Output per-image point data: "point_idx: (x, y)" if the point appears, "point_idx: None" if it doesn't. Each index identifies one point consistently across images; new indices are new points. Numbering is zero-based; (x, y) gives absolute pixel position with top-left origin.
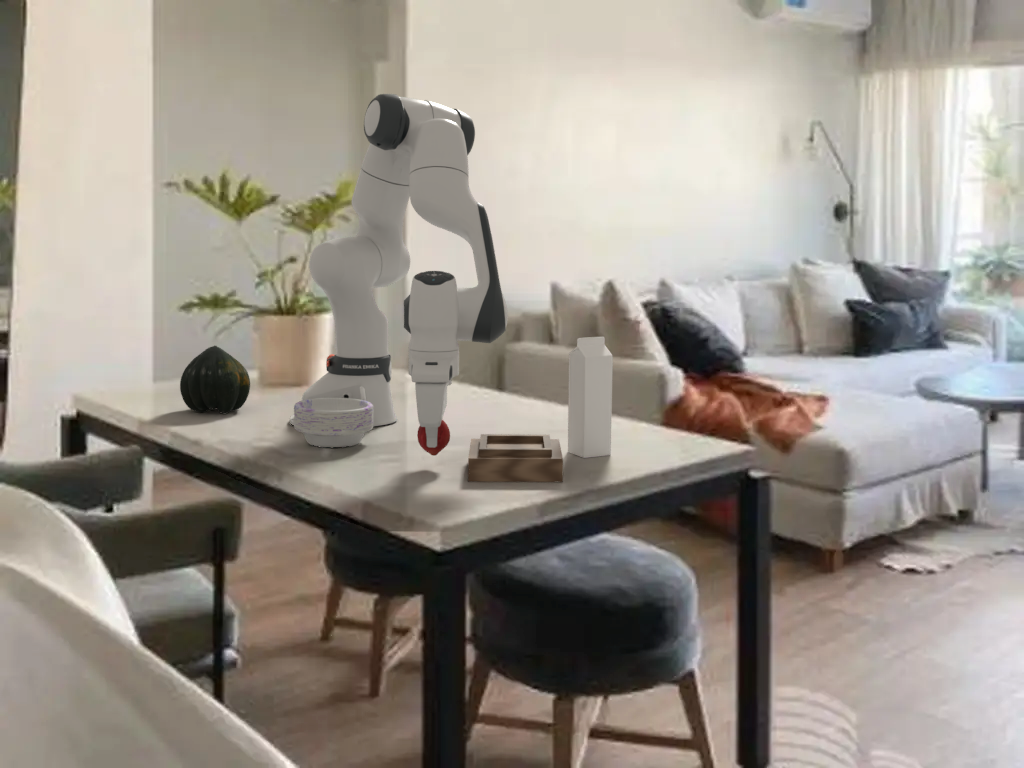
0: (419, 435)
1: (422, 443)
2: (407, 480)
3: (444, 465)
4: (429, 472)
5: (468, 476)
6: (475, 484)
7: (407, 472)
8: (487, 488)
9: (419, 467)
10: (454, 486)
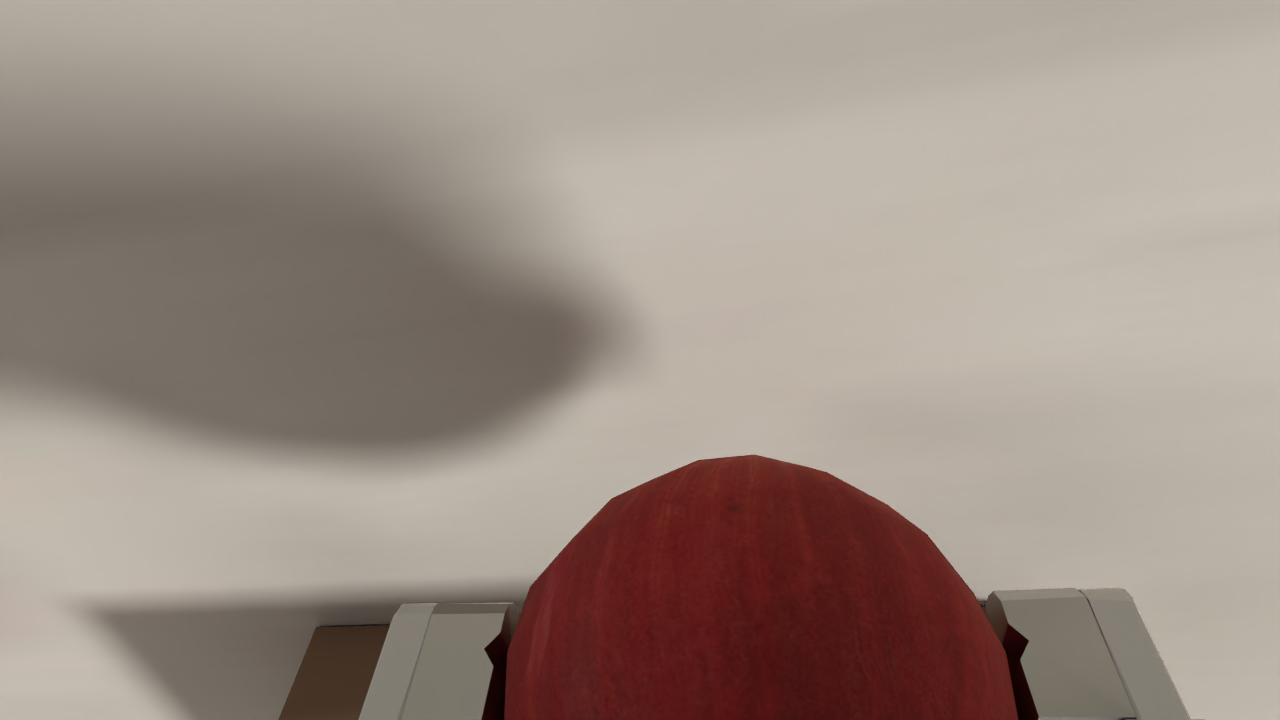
0: (588, 615)
1: (571, 545)
2: (116, 240)
3: (830, 458)
4: (519, 380)
5: (303, 661)
6: (263, 657)
7: (457, 179)
8: (201, 703)
9: (725, 264)
10: (141, 572)
